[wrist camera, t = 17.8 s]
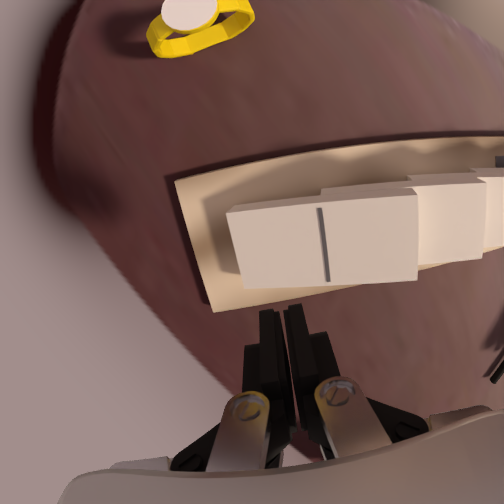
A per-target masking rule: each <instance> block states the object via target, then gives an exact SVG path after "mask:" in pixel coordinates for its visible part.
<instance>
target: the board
mask: <svg viewBox="0 0 504 504" xmlns="http://www.w3.org/2000/svg"><path fill="white" fill-rule="evenodd" d="M470 168H504V136H457V137H437V138H421V139H408V140H397V141H386V142H377V143H368V144H359V145H352V146H344V147H337V148H330V149H323V150H316V151H310V152H304V153H298V154H292V155H286V156H281V157H276V158H270V159H265V160H260V161H255V162H250V163H245V164H240V165H236V166H231V167H227V168H222V169H218V170H213V171H209V172H205V173H201V174H197V175H193V176H189V177H185V178H181V179H177V180H176V181H174V182H175V186H176V190H177V194H178V197H179V201H180V205H181V208H182V212H183V215H184V219H185V222H186V226H187V229H188V233H189V236H190V240H191V243H192V246H193V250H194V253H195V256H196V260H197V263H198V266H199V269H200V272H201V276H202V279H203V282H204V285H205V288H206V291H207V295H208V298H209V301H210V304H211V307H212V310H213V312H220V311H226V310H232V309H238V308H244V307H249V306H255V305H261V304H266V303H272V302H277V301H283V300H288V299H293V298H298V297H303V296H308V295H313V294H318V293H323V292H328V291H333V290H337V289H342V288H347V287H351V286H356V285H360V284H353V285H334V286H313V287H288V288H257V289H244V285H243V281H242V277H241V273H240V269H239V265H238V261H237V257H236V253H235V249H234V245H233V241H232V237H231V233H230V229H229V225H228V221H227V217H226V212H228V211H229V210H230V209H231V208H232V207H233V206H234V205H240V204H248V203H256V202H264V201H272V200H281V199H289V198H298V197H308V196H317V195H320V194H321V189H323V188H332V187H342V186H352V185H362V184H373V183H385V182H398V181H407V175H422V174H442V173H470ZM501 247H504V246H496V247H486V248H483V253H484V252H488V251H491V250H494V249H498V248H501ZM445 263H449V262H445ZM445 263H435V264H424V265H418V271H419V270H423V269H427V268H430V267H434V266H438V265H442V264H445Z"/></svg>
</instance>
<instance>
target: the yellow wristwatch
mask: <svg viewBox="0 0 504 504" xmlns="http://www.w3.org/2000/svg"><path fill="white" fill-rule="evenodd" d="M232 11H236V13H235V14H233V15H232V16H230V17H229V18H227V19H226V20H224V21H223V22H221V23H218V24H216V25H213V26H211V25H212V24H213V23H214V22H215V20H216V19H217V17H218V15H219V13H223V12H232ZM254 19H255V17H254V12H253V10H252V8H251V6H250V4H249V2H248V0H165V1H164V3H163V5H162V10H161V14H160V15H158V16H157V17H156V18H155V19H154V20H153V21H152V22H151V24H150V26H149V28H148V30H147V33H146V36H147V39H148V41H149V44H150V46H151V49H152V51H153V52H154V54H155V55H156V56H157V57H160V58H176V57H181V56H186V55H190V54H191V55H192V54H194V52H197V51H199V50H202V49H204V48H207V47H209V46H212V45H214V44H217V43H220V42H222V41H225V40H228V39H231V38H233V37H235V36H236V35H238V34H239V33H241V32H243V31H244V30H245V29H247V28H248V27H249V25H250V24H251V23H252V22H253V21H254ZM174 31H175V32H177V33H181V34H190V35H188V36H185V37H180V38H174V39H169V40H166V39H165V38H166V37H168V36H169V35H170V34H172V33H173V32H174Z"/></svg>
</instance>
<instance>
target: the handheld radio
mask: <svg viewBox="0 0 504 504" xmlns="http://www.w3.org/2000/svg"><path fill="white" fill-rule="evenodd" d="M503 373H504V360H503V361H502V363H501V364H500V366H499V367H498V369H497V370H496V371H495V373H494V374H493V375H492V377H491V378H490V381H491V382H492V383H493V384H496V382H497V381H498V380H499V379H500V377H501V376H502V374H503Z"/></svg>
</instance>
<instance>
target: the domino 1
mask: <svg viewBox="0 0 504 504" xmlns="http://www.w3.org/2000/svg"><path fill="white" fill-rule="evenodd" d="M226 217H227V221H228V225H229V229H230V233H231V237H232V241H233V245H234V249H235V253H236V257H237V261H238V265H239V269H240V273H241V277H242V281H243V285H244V289H257V288H288V287H313V286H334V285H353V284H370V283H385V282H400V281H413V280H417V274H418V248H419V212H418V194H417V193H416V192H415V191H414V190H413V189H412V188H401V189H386V190H373V191H361V192H349V193H338V194H327V195H317V196H308V197H298V198H289V199H281V200H272V201H264V202H256V203H248V204H240V205H234V206H233V207H232V208H231V209H230V210H229V211H228V212H226Z"/></svg>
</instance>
